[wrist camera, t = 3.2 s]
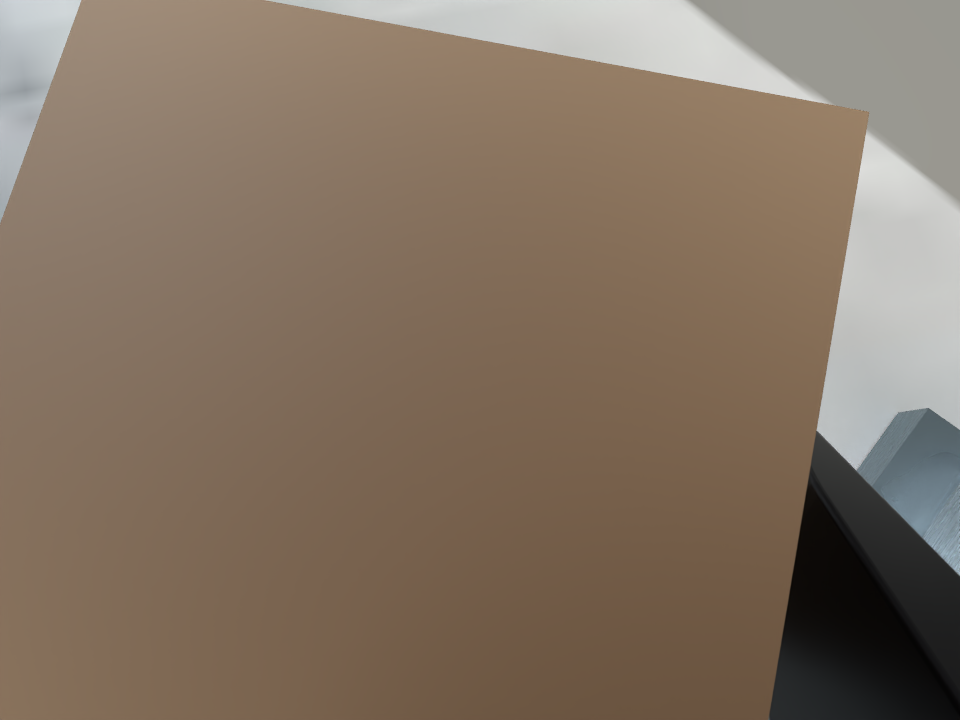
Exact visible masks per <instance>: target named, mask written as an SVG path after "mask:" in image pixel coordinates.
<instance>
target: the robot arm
mask: <svg viewBox="0 0 960 720" xmlns="http://www.w3.org/2000/svg"><path fill="white" fill-rule="evenodd" d="M769 719H770V720H960V575H959V574H958V573H957V572H956V571H955V570H954V569H953V568H952V567H951V566H950V565H949V564H948V563H947V562H946V561H945V560H944V559H943V558H942V557H941V556H940V555H939V554H938V553H937V552H936V551H935V550H934V549H933V548H932V547H931V546H930V545H929V544H928V543H927V542H926V541H925V540H924V539H923V538H922V537H921V536H920V535H919V534H918V533H917V532H916V531H915V530H914V529H913V528H912V527H911V526H910V525H909V524H908V523H907V522H906V521H905V520H904V519H903V517H902V516H901V515H900V514H899V513H898V512H897V511H896V510H895V509H894V508H893V507H892V506H891V505H890V504H889V503H888V502H887V501H886V500H885V499H884V498H883V497H882V496H881V495H880V494H879V493H878V492H877V491H876V490H875V489H874V488H873V487H872V486H871V485H870V484H869V483H868V482H867V481H866V480H865V479H864V478H863V477H862V476H861V475H860V474H859V473H858V472H857V471H856V470H855V469H854V468H853V467H852V466H851V465H850V464H849V463H848V462H847V461H846V460H845V459H844V458H843V457H842V456H841V455H840V454H839V453H838V452H837V451H836V450H835V449H834V448H833V447H832V445H831V444H830V443H829V442H828V441H827V440H826V439H825V438H824V437H823V436H822V435H821V434H820V433H819V432H818V431H816V436H815V442H814V448H813V454H812V460H811V466H810V472H809V478H808V484H807V490H806V496H805V502H804V508H803V514H802V520H801V526H800V532H799V538H798V544H797V550H796V556H795V562H794V568H793V574H792V580H791V586H790V592H789V598H788V604H787V610H786V616H785V622H784V628H783V634H782V640H781V646H780V652H779V658H778V664H777V670H776V676H775V682H774V688H773V694H772V701H771V707H770V713H769Z"/></svg>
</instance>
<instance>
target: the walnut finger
mask: <svg viewBox="0 0 960 720" xmlns="http://www.w3.org/2000/svg"><path fill="white" fill-rule="evenodd" d="M868 116H869V112H867V111H861V110H856V109H850V108H845V107H839V106H834V105H829V104H823V103H818V102H812V101H807V100H802V99H796V98H791V97H785V96H780V95H775V94H769V93H764V92H758V91H753V90H747V89H742V88H737V87H731V86H726V85H720V84H715V83H710V82H704V81H699V80H693V79H688V78H683V77H677V76H672V75H666V74H661V73H655V72H650V71H645V70H639V69H634V68H628V67H623V66H618V65H612V64H607V63H601V62H596V61H590V60H585V59H580V58H574V57H569V56H563V55H558V54H553V53H547V52H542V51H536V50H531V49H525V48H520V47H515V46H509V45H504V44H498V43H493V42H488V41H482V40H477V39H471V38H466V37H460V36H455V35H450V34H444V33H439V32H433V31H428V30H423V29H417V28H412V27H406V26H401V25H395V24H390V23H385V22H379V21H374V20H368V19H363V18H358V17H352V16H347V15H341V14H336V13H331V12H325V11H320V10H314V9H309V8H303V7H298V6H293V5H287V4H282V3H276V2H271V1H266V0H82V1H81V3H80V6H79V9H78V12H77V14H76V17H75V20H74V23H73V25H72V28H71V31H70V34H69V36H68V39H67V42H66V45H65V47H64V50H63V53H62V56H61V58H60V61H59V64H58V67H57V69H56V72H55V75H54V78H53V80H52V83H51V86H50V89H49V91H48V94H47V97H46V100H45V102H44V105H43V108H42V110H41V113H40V116H39V119H38V121H37V124H36V127H35V130H34V132H33V135H32V138H31V141H30V143H29V146H28V149H27V152H26V154H25V157H24V160H23V163H22V165H21V168H20V171H19V174H18V176H17V179H16V182H15V185H14V187H13V190H12V193H11V196H10V198H9V201H8V204H7V207H6V209H5V212H4V215H3V218H2V220H1V223H0V720H768V719H769V713H770V707H771V701H772V694H773V688H774V682H775V676H776V670H777V664H778V658H779V652H780V646H781V640H782V634H783V628H784V622H785V616H786V610H787V604H788V598H789V592H790V586H791V580H792V574H793V568H794V562H795V556H796V550H797V544H798V538H799V532H800V526H801V520H802V514H803V508H804V502H805V496H806V490H807V484H808V478H809V472H810V466H811V460H812V454H813V448H814V442H815V436H816V430H817V424H818V418H819V412H820V406H821V399H822V393H823V387H824V381H825V375H826V369H827V363H828V357H829V351H830V345H831V339H832V333H833V327H834V321H835V315H836V309H837V303H838V297H839V291H840V285H841V279H842V273H843V267H844V261H845V255H846V249H847V243H848V237H849V231H850V225H851V219H852V213H853V207H854V201H855V195H856V189H857V183H858V177H859V171H860V165H861V159H862V153H863V147H864V141H865V135H866V129H867V123H868Z"/></svg>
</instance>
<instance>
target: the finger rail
mask: <svg viewBox="0 0 960 720" xmlns="http://www.w3.org/2000/svg"><path fill="white" fill-rule="evenodd" d="M857 472H858V473H859V474H860V475H861V476H862V477H863V478H864V479H865V480H866V481H867V482H868V483H869V484H870V485H871V486H872V487H873V488H874V489H875V490H876V491H877V492H878V493H879V494H880V495H881V496H882V497H883V498H884V499H885V500H886V501H887V502H888V503H889V504H890V505H891V506H892V507H893V508H894V509H895V510H896V511H897V512H898V513H899V514H900V515H901V516H902V517H903V519H904V520H905V521H906V522H907V523H908V524H909V525H910V526H911V527H912V528H913V529H914V530H915V531H916V532H917V533H918V534H919V535H920V536H921V537H922V538H923V539H924V540H925V541H926V542H927V543H928V544H929V545H930V546H931V547H932V548H933V549H934V550H935V551H936V552H937V553H938V554H939V555H940V556H941V557H942V558H943V559H944V560H945V561H946V562H947V563H948V564H949V565H950V566H951V567H952V568H953V569H954V570H955V571H956V572H957V573H958V574H959V575H960V430H959V429H958V428H956V427H955V426H953V425H952V424H950V423H949V422H948V421H946V420H945V419H943V418H942V417H940V416H939V415H938V414H936V413H935V412H933V411H932V410H930V409H929V408H926V409H919V410H913V411H906V412H900V413H898V414H897V415H896V417H895V418H894V419H893V421H892V422H891V424H890V425H889V426H888V428H887V429H886V431H885V432H884V433H883V435H882V436H881V438H880V439H879V440H878V442H877V443H876V445H875V446H874V447H873V449H872V450H871V452H870V453H869V454H868V456H867V457H866V459H865V460H864V461H863V463H862V464H861V466H860V467H859V468H858V470H857ZM768 720H770V719H768Z"/></svg>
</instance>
